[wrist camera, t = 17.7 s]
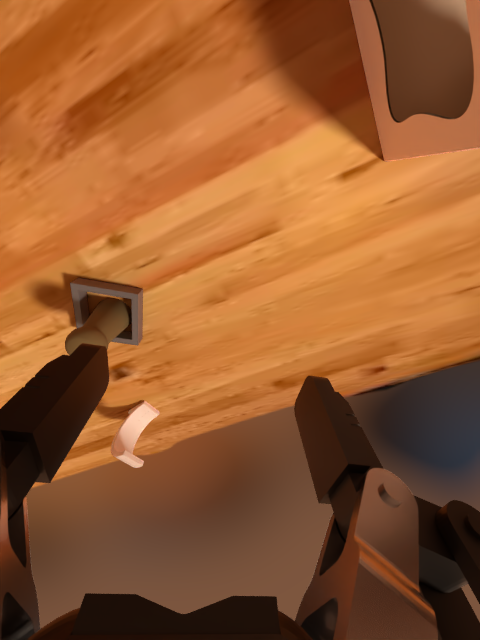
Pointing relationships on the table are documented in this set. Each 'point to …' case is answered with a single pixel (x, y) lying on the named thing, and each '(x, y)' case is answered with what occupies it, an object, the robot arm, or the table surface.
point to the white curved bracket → (132, 433)
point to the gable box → (421, 73)
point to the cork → (101, 325)
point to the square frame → (136, 294)
